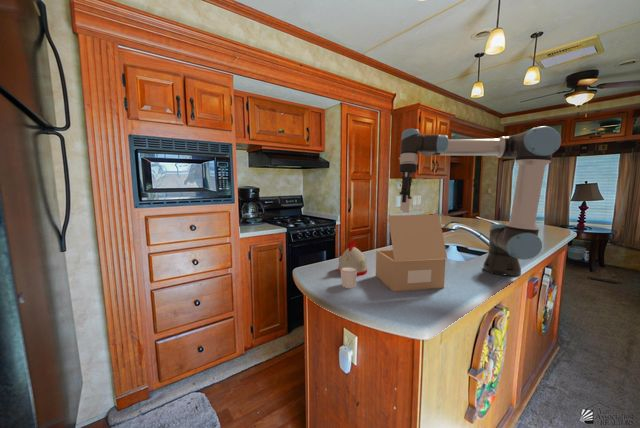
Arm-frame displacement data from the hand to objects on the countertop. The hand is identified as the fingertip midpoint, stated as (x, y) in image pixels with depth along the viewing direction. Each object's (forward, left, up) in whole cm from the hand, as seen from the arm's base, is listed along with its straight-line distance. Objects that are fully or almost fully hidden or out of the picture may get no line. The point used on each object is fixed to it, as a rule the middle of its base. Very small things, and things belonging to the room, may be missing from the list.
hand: (404, 211), depth 118 cm
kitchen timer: (+19, +13, -30) cm, 38 cm away
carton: (-6, +5, -30) cm, 31 cm away
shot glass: (+7, +28, -30) cm, 41 cm away
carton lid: (-11, +8, -9) cm, 16 cm away
